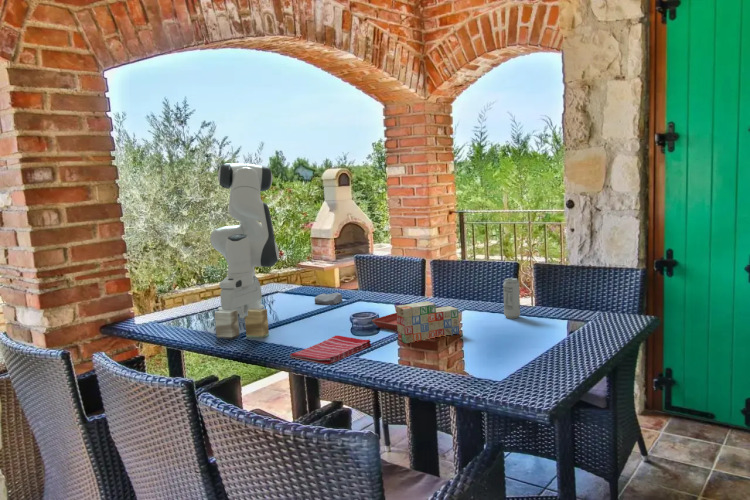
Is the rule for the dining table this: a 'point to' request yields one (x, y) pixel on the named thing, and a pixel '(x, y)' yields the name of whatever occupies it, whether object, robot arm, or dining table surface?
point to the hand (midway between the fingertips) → (244, 317)
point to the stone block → (328, 298)
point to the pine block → (227, 324)
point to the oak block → (257, 323)
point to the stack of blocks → (425, 321)
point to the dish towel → (332, 350)
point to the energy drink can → (511, 298)
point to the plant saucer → (387, 322)
